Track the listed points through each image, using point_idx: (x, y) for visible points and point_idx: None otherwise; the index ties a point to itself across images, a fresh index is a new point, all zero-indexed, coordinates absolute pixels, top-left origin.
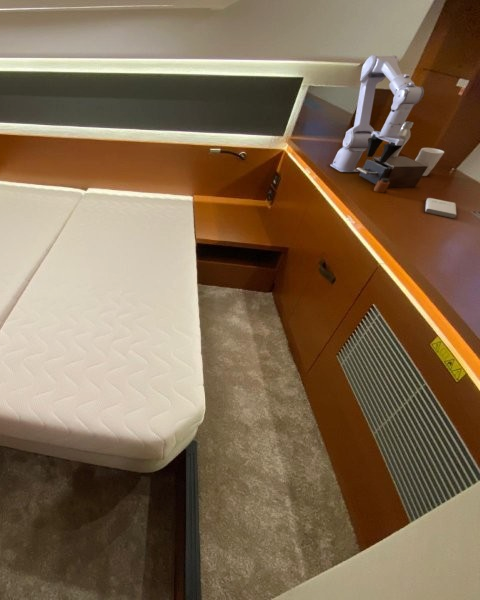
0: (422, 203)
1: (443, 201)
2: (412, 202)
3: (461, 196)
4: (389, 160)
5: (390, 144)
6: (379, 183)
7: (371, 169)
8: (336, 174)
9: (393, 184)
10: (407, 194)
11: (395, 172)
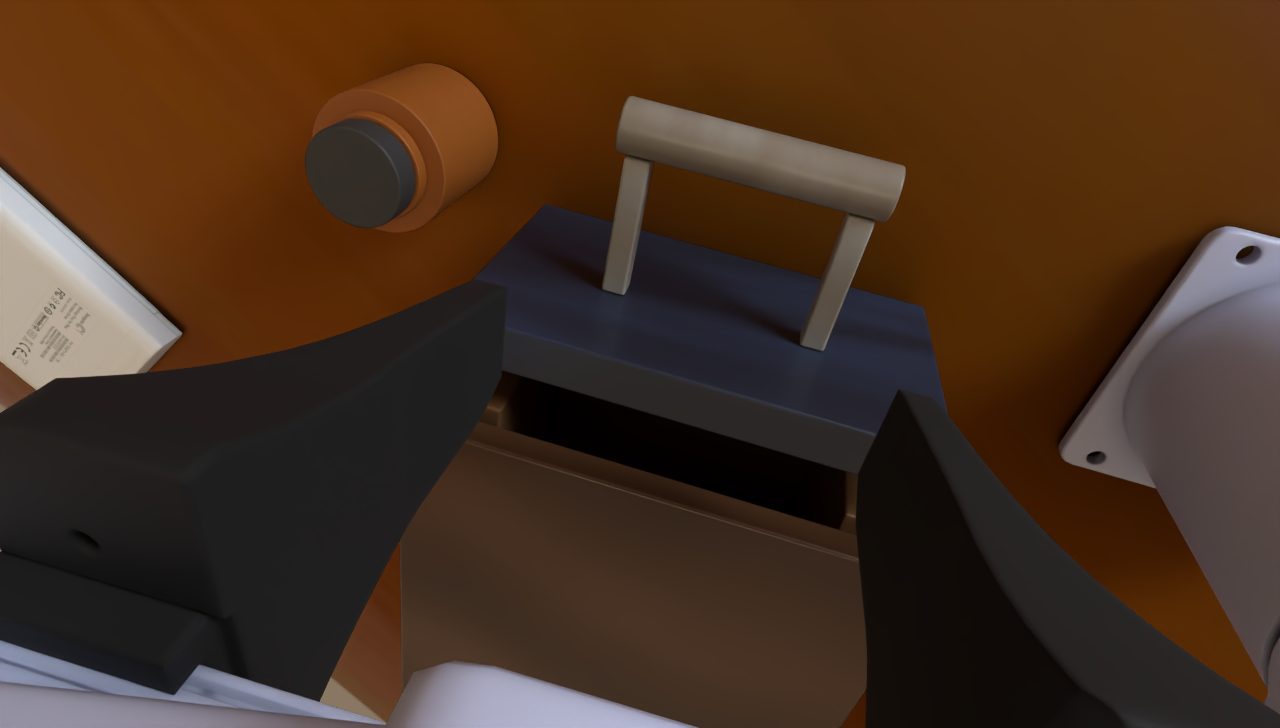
0: (132, 258)
1: None
2: (137, 189)
3: None
4: (675, 602)
5: (95, 542)
6: (367, 84)
7: (737, 329)
8: (1207, 62)
9: None
10: (338, 333)
11: None
